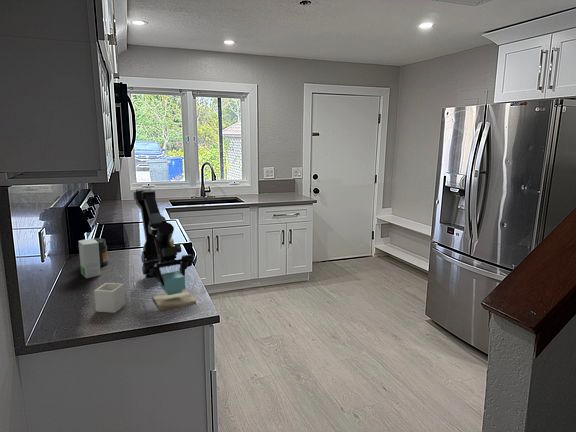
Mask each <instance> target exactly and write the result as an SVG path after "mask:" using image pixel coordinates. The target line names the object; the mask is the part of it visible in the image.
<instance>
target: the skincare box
mask: <svg viewBox="0 0 576 432" xmlns="http://www.w3.org/2000/svg"><path fill="white" fill-rule="evenodd" d="M78 251H79V252H78V253H79V262H80V264H79V265H80V274H81V275H82V276H83V277H84V278H85V279H90V278H94V277H98V276H99V277H100V276H101V275H102V274H101V273H102V272H101V267H100V257H99V243H98V242H97V241H96V240H94V238H88V239H81V240H78Z"/></svg>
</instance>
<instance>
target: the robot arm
mask: <svg viewBox="0 0 576 432" xmlns="http://www.w3.org/2000/svg"><path fill="white" fill-rule="evenodd" d="M156 198H157V197H156V190H152V189H151V188H140V189H139V188H137V189H135V191H134V192H133V200H134V201H135V204H136V206H137V207H138V208H139V209H140V212H141V219H142V225H143V232H144V237H145V242H144V244H143V246H142V252H141V257H140V258H141V262H142V267H141V270H142V274H143V275H145V278H153V277H154V279H156V280H157V282H158V283H159V284H160V286H161V285H162V286H164V282H163V279H162V276H161V274H162V270H161V269H163V268H167V267H171V266H172V267H173V266H178V265H179V270H178V271H180V272H181V273H182V274H183V275H184V276H185V277H186V275H185V274H186V270H187V269H188V267H189V268H190V267H192V265H193V263H194V261H195V259H194V255H193V254H191V253H190V254H185V255H181V258H180V259H177V255H178V254H179V253H182V246H181V244H180V243H177V244H174V247H172V246H171V243H170V240H171V238H172V237H173V234H174V231H175V227H174V226H173V224H171V223H170V222H168V221H167V220H166V218H165V216H163V215H162V214H161V211H160V209H159V206H158V202H157V200H156Z"/></svg>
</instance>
